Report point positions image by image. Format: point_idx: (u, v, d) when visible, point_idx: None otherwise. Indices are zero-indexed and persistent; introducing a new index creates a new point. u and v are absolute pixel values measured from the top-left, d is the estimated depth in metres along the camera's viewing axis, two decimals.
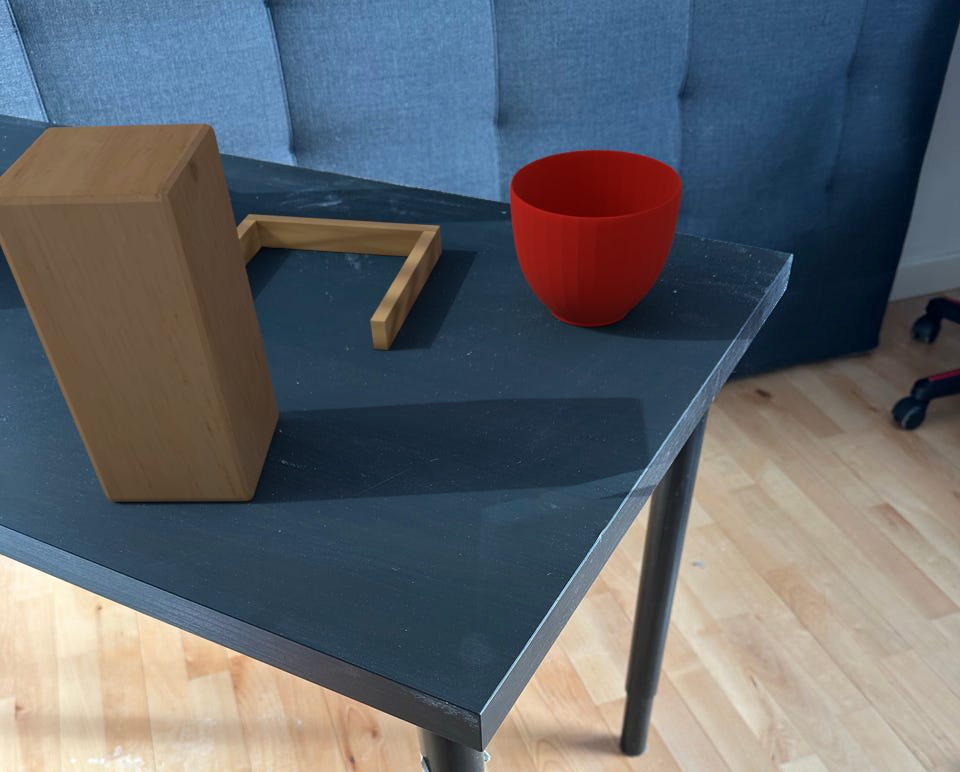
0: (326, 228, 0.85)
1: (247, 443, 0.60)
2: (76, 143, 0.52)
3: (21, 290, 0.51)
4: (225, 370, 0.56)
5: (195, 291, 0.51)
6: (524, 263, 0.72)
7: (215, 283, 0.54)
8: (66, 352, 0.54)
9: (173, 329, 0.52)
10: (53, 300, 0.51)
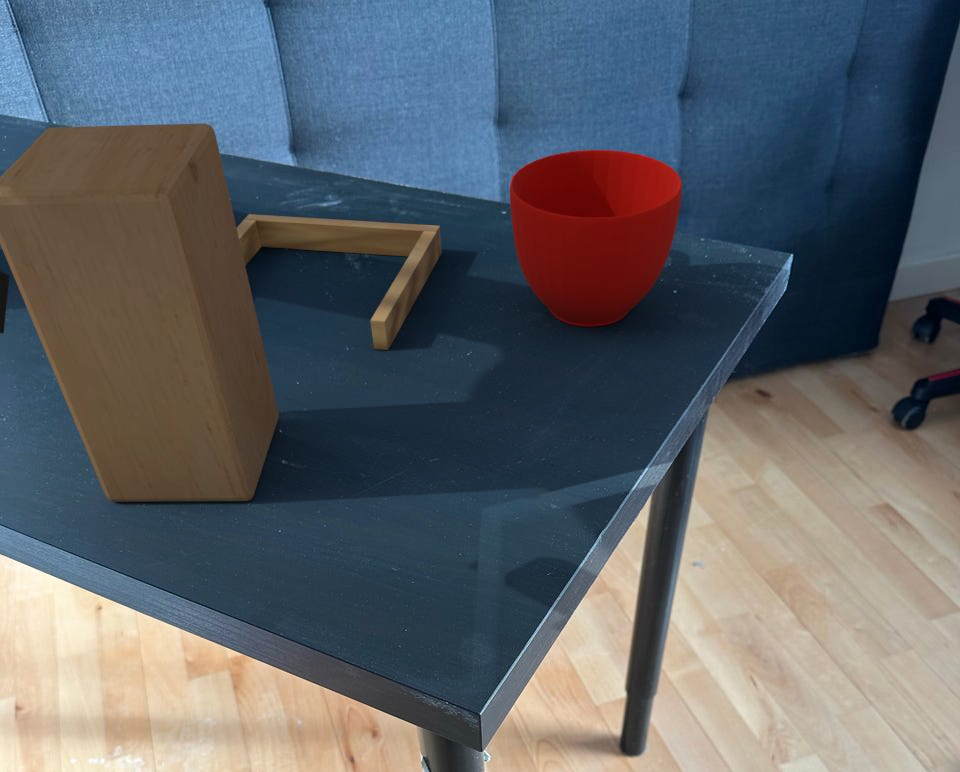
0: (326, 228, 0.85)
1: (247, 443, 0.60)
2: (76, 143, 0.52)
3: (21, 290, 0.51)
4: (225, 370, 0.56)
5: (195, 291, 0.51)
6: (524, 263, 0.72)
7: (215, 283, 0.54)
8: (66, 352, 0.54)
9: (173, 329, 0.52)
10: (53, 300, 0.51)
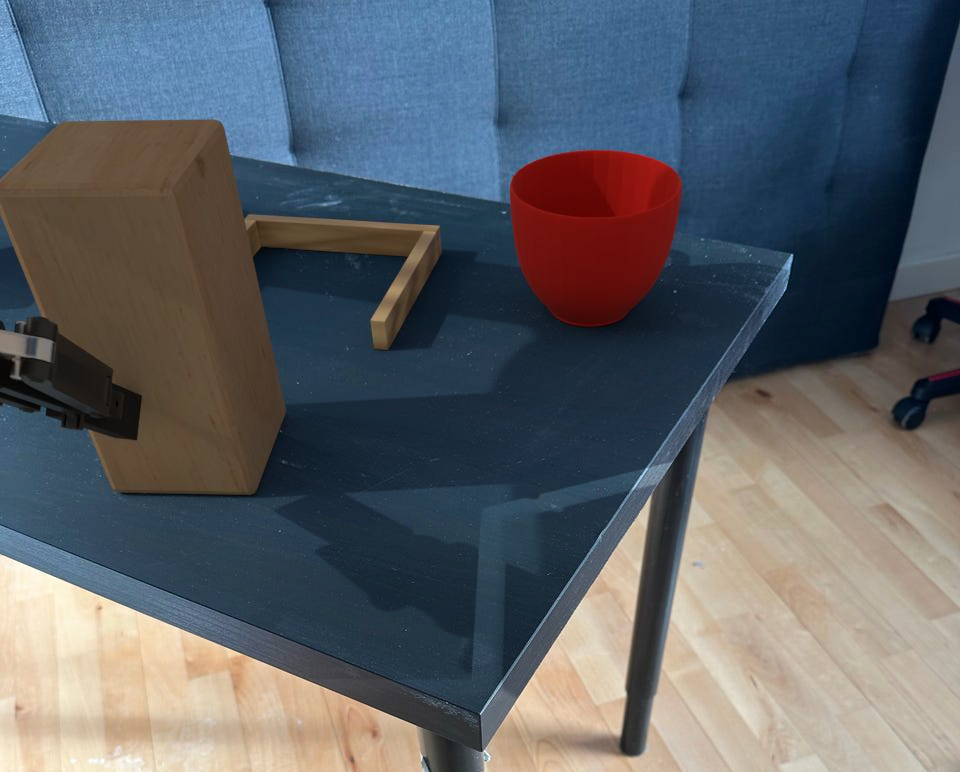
0: (326, 228, 0.85)
1: (251, 437, 0.60)
2: (87, 137, 0.52)
3: (29, 281, 0.52)
4: (229, 364, 0.56)
5: (199, 286, 0.51)
6: (524, 263, 0.72)
7: (220, 278, 0.54)
8: None
9: (177, 323, 0.53)
10: (60, 292, 0.52)
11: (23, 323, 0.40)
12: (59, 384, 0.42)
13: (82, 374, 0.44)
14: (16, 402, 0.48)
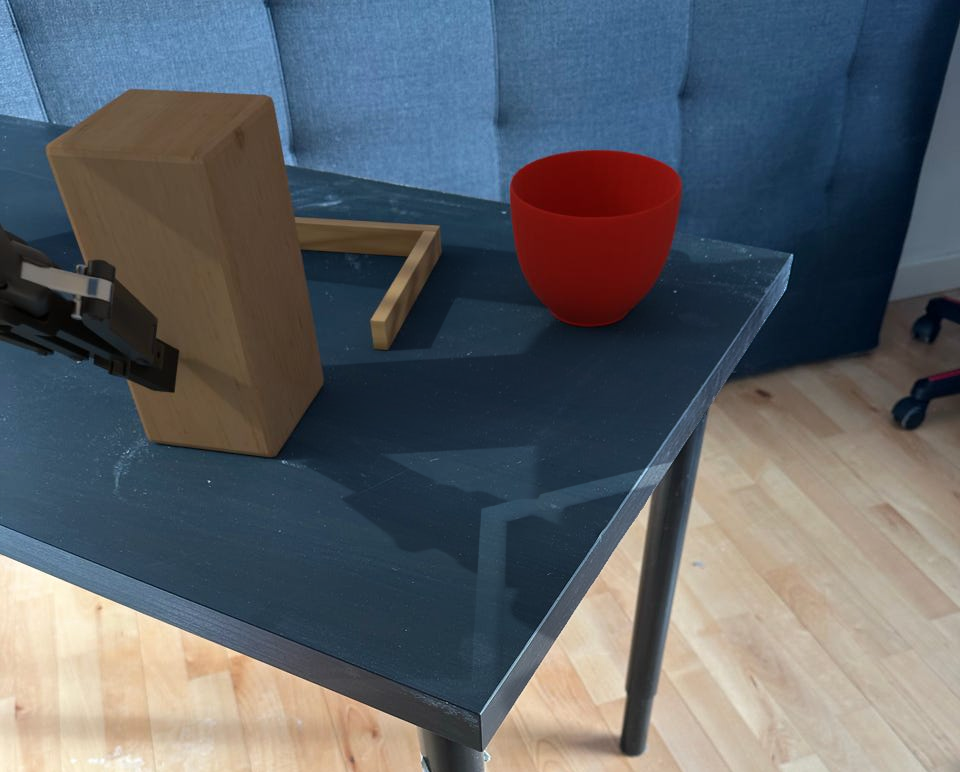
0: (326, 228, 0.85)
1: (275, 402, 0.63)
2: (144, 105, 0.56)
3: (76, 236, 0.56)
4: (255, 330, 0.59)
5: (226, 252, 0.54)
6: (524, 263, 0.72)
7: (253, 247, 0.57)
8: None
9: (206, 286, 0.56)
10: (103, 248, 0.56)
11: (83, 266, 0.43)
12: (114, 326, 0.45)
13: (133, 319, 0.48)
14: (68, 349, 0.51)
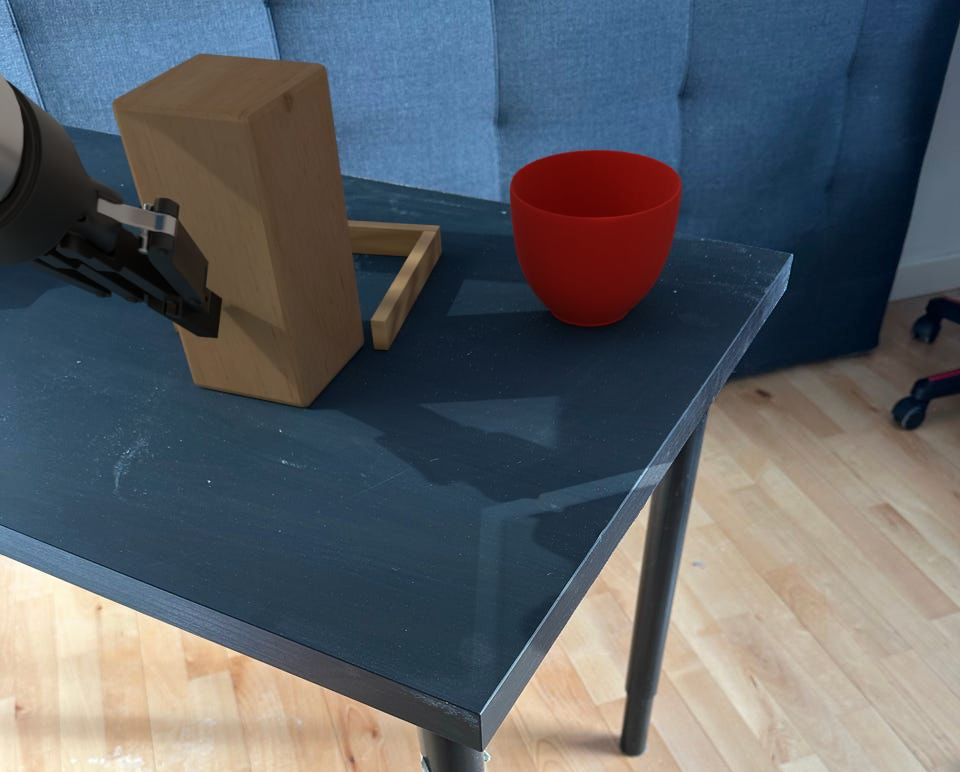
0: None
1: (310, 355, 0.67)
2: (208, 68, 0.60)
3: (136, 186, 0.60)
4: (293, 284, 0.63)
5: (266, 207, 0.58)
6: (524, 263, 0.72)
7: (295, 205, 0.61)
8: None
9: (248, 239, 0.60)
10: None
11: (150, 205, 0.48)
12: (175, 261, 0.50)
13: (189, 259, 0.52)
14: (126, 290, 0.56)
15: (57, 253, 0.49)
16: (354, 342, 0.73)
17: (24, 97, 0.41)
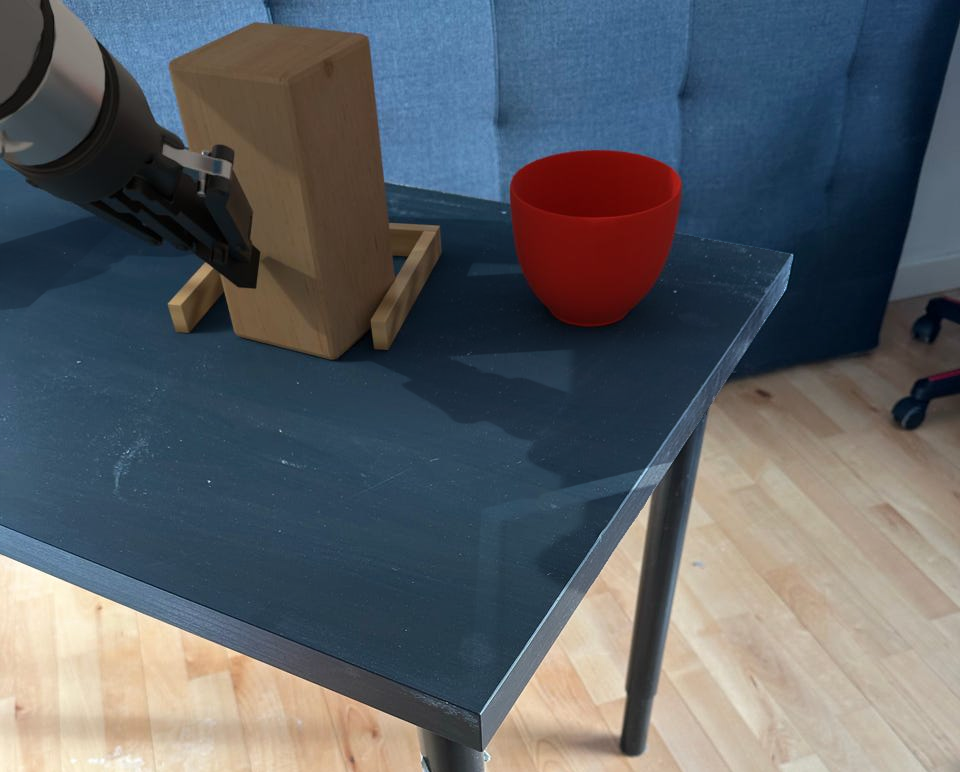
0: None
1: (340, 310, 0.71)
2: (260, 35, 0.65)
3: (188, 143, 0.65)
4: (326, 241, 0.67)
5: (303, 166, 0.62)
6: (524, 263, 0.72)
7: (332, 166, 0.65)
8: None
9: (286, 195, 0.64)
10: None
11: (208, 152, 0.52)
12: (228, 205, 0.54)
13: (239, 205, 0.57)
14: (178, 237, 0.60)
15: (121, 197, 0.54)
16: None
17: (103, 47, 0.46)
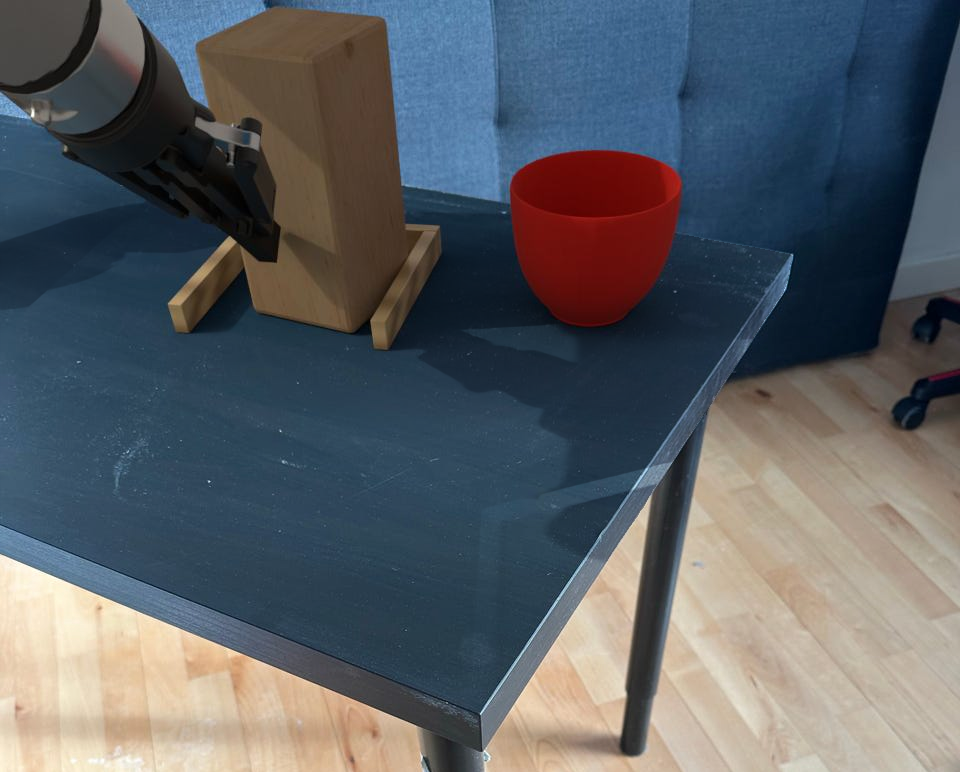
0: None
1: (358, 285, 0.74)
2: (281, 18, 0.67)
3: None
4: (345, 216, 0.70)
5: (324, 142, 0.65)
6: (524, 263, 0.72)
7: (351, 143, 0.68)
8: None
9: (307, 172, 0.67)
10: None
11: (236, 125, 0.55)
12: (255, 177, 0.57)
13: (264, 178, 0.59)
14: (204, 210, 0.63)
15: (153, 169, 0.56)
16: None
17: (142, 22, 0.48)
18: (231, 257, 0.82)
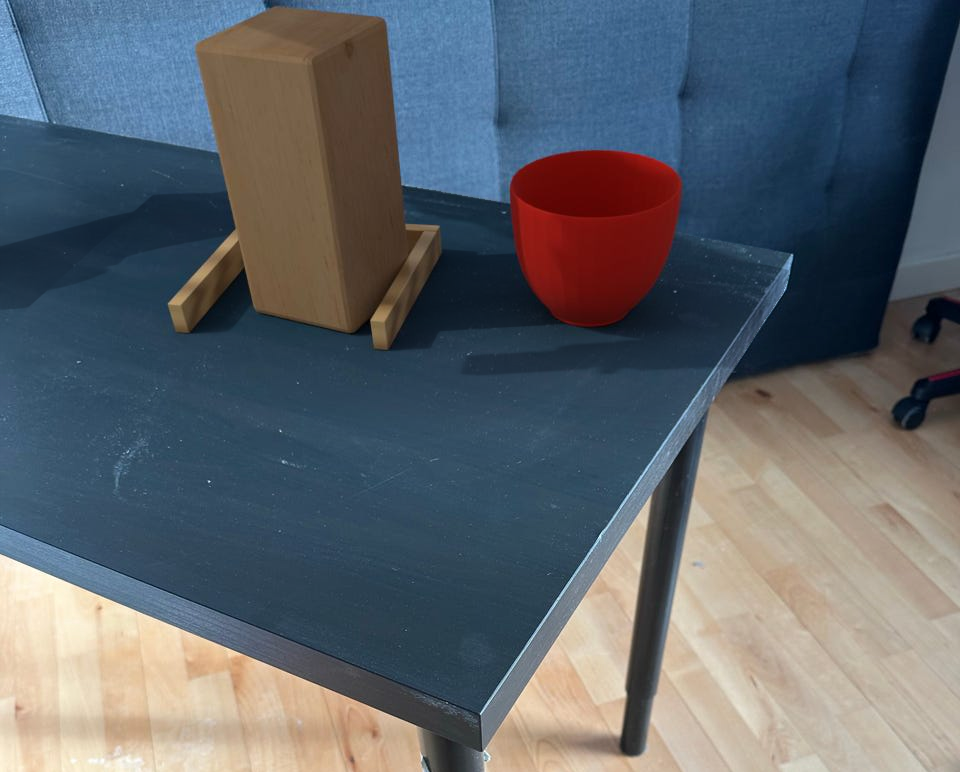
0: None
1: (358, 285, 0.74)
2: (281, 18, 0.67)
3: (212, 122, 0.68)
4: (345, 216, 0.70)
5: (324, 143, 0.65)
6: (524, 263, 0.72)
7: (351, 144, 0.68)
8: (236, 178, 0.70)
9: (307, 172, 0.67)
10: (231, 134, 0.68)
11: None
12: None
13: None
14: None
15: None
16: None
17: None
18: (231, 257, 0.82)
